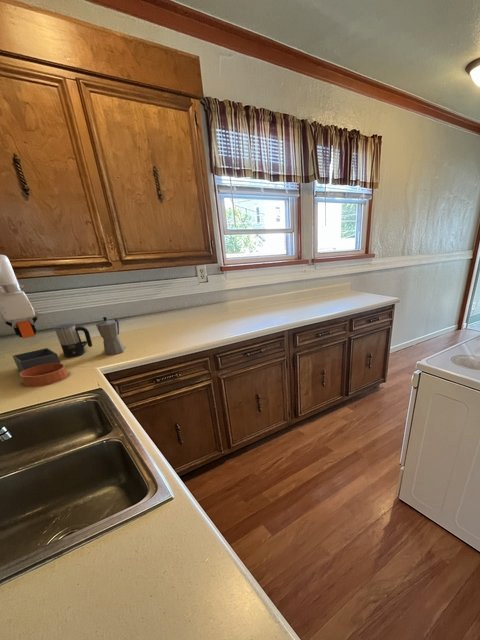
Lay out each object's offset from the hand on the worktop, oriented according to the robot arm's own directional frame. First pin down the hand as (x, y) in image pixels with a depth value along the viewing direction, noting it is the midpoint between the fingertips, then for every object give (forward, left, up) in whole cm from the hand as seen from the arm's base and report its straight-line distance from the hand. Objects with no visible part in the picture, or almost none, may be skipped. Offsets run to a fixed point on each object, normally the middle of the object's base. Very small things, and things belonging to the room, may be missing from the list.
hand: (27, 334), depth 135 cm
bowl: (-1, -11, -17) cm, 20 cm away
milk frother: (+21, +21, -18) cm, 35 cm away
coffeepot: (+34, +5, -18) cm, 38 cm away
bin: (+1, +5, -17) cm, 18 cm away
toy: (0, 0, -1) cm, 1 cm away
